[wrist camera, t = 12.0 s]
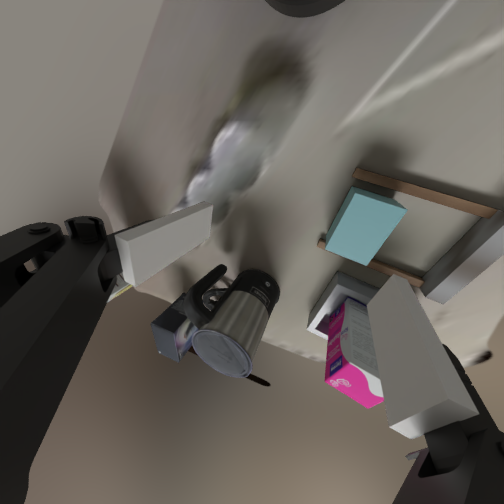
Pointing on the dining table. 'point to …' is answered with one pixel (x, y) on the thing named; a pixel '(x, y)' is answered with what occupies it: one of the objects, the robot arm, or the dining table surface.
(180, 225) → the robot arm
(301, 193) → the dining table surface
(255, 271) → the milk frother
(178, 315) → the small box
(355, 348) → the supplement box
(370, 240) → the block
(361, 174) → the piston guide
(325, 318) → the tray
